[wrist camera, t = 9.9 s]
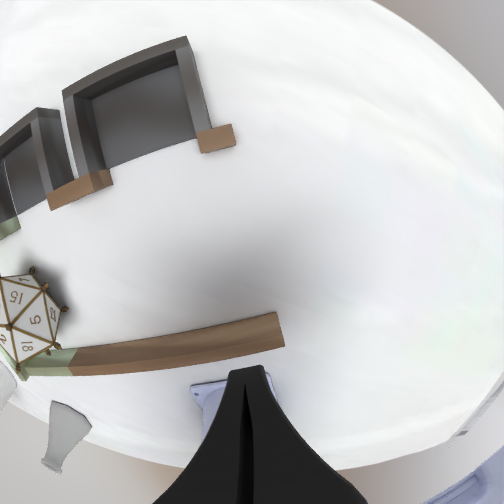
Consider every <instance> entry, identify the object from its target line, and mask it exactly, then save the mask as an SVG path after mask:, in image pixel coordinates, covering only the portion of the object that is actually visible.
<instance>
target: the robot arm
mask: <svg viewBox="0 0 504 504" xmlns="http://www.w3.org/2000/svg"><path fill="white" fill-rule="evenodd" d="M190 392H191V394H192V396H193V397H194V399H195V400H196V402H197V403H198V405H199V406H200V408H201V410H202V411H203V424H202V444H201V445H200V447H199V449H198V450H197V452H196V453H195V455H194V457H193V458H192V459H191V461H190V462H189V464H188V465H187V467H186V468H185V469H184V471H183V472H182V473H181V474H180V476H179V477H178V478H177V479H176V480H175V482H174V483H173V484H172V485H171V486H170V487H169V488H168V490H166V491H165V492H164V493H163V494H162V495H161V496H160V497H159V498H158V499H157V500H156V501H155V502H154V503H153V504H368V503H367V501H366V500H365V498H364V497H363V496H362V495H361V494H360V493H359V491H358V490H357V489H356V488H355V487H354V486H353V485H352V484H351V483H350V482H349V481H347V480H346V479H345V478H343V477H342V476H341V475H340V474H338V473H337V472H336V471H335V470H334V469H333V468H331V467H330V466H329V465H328V464H327V463H326V462H325V461H324V460H323V459H322V458H321V457H320V456H319V455H318V454H317V453H316V452H315V451H314V450H313V449H312V448H311V447H310V446H309V445H308V444H307V443H306V442H305V440H304V439H303V438H302V437H301V436H300V434H299V433H298V432H297V431H296V429H295V428H294V427H293V425H292V424H291V423H290V421H289V420H288V418H287V417H286V415H285V414H284V412H283V411H282V409H281V408H280V406H279V404H278V401H277V398H276V395H275V392H274V389H273V386H272V382H271V379H270V376H269V374H266V373H265V370H264V367H263V366H262V365H256V366H252V367H247V368H242V369H237V370H231V371H230V372H229V375H228V379H227V381H222V382H216V383H210V384H203V385H196V386H191V387H190ZM421 504H504V446H502V447H501V448H500V449H499V450H498V451H497V452H496V453H494V454H493V455H492V456H491V457H489V458H488V459H487V460H486V461H484V462H483V463H482V464H481V465H480V466H478V467H477V468H476V469H475V470H474V471H473V472H472V473H470V474H469V475H467V476H466V477H465V478H463V479H462V480H460V481H459V482H457V483H456V484H454V485H453V486H451V487H449V488H448V489H446V490H444V491H443V492H441V493H439V494H438V495H436V496H434V497H432V498H431V499H429V500H427V501H425V502H424V503H421Z"/></svg>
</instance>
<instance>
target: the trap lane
mask: <svg viewBox="0 0 504 504" xmlns="http://www.w3.org/2000/svg"><path fill="white" fill-rule="evenodd" d="M62 96H63V103H64V109H65V115H66V121H67V126H68V132H69V137H70V141H71V146H72V150H73V155H74V159H75V163H76V167H77V171H78V174H79V178H77V179H75V180H74V178H73V174H72V170H71V166H70V162H69V158H68V154H67V150H66V145H65V140H64V136H63V130H62V125H61V119H60V113H59V110H54V109H47V108H39V107H36V108H35V109H34V110H32V111H31V112H30V113H28V114H27V115H26V116H24V117H23V118H22V119H20V120H19V121H18V122H17V123H15V124H14V125H13V126H12V127H11V128H9V129H8V130H7V131H6V132H5V133H4V134H2V135H1V136H0V240H2V239H3V238H5V237H7V236H8V235H10V234H12V233H13V232H15V231H17V230H19V229H20V225H19V222H18V219H17V216H16V212H15V209H14V205H15V208H16V211H17V215H19V214H21V213H22V212H24V211H26V210H27V209H29V208H31V207H33V206H34V205H36V204H38V203H40V202H41V201H43V200H45V199H47V201H48V204H49V207H50V210H51V211H52V210H55V209H57V208H59V207H62V206H64V205H66V204H69V203H71V202H73V201H76V200H78V199H80V198H82V197H85V196H87V195H89V194H91V193H94V192H96V191H99V190H101V189H103V188H106V187H108V186H111V185H113V182H112V179H111V175H110V172H109V169H110V168H112V167H114V166H117V165H119V164H122V163H124V162H127V161H129V160H132V159H135V158H137V157H140V156H143V155H145V154H148V153H151V152H154V151H156V150H159V149H162V148H165V147H168V146H171V145H174V144H178V143H181V142H184V141H187V140H191V139H194V138H197V140H198V144H199V148H200V151H201V153H209V152H212V151H216V150H220V149H224V148H227V147H231V146H235V145H236V140H235V137H234V133H233V129H232V125H231V124H228V125H224V126H220V127H216V128H212V126H211V122H210V118H209V114H208V110H207V106H206V102H205V98H204V94H203V91H202V87H201V83H200V79H199V75H198V71H197V67H196V63H195V59H194V55H193V51H192V49H191V46H190V44H189V41H188V39H187V36H183V37H179V38H176V39H173V40H170V41H167V42H164V43H161V44H158V45H155V46H152V47H150V48H147V49H144V50H142V51H139V52H137V53H134V54H132V55H129V56H127V57H125V58H122V59H120V60H118V61H116V62H114V63H111V64H109V65H107V66H105V67H103V68H101V69H99V70H97V71H95V72H93V73H91V74H89V75H88V76H86V77H84V78H82V79H80V80H79V81H77V82H75V83H73V84H72V85H70V86H68V87H67V88H65V89H63V90H62ZM3 160H4V162H5V167H6V172H7V177H8V181H9V185H10V189H11V193H12V197H13V201H14V205H13V202H12V198H11V194H10V190H9V186H8V182H7V177H6V173H5V168H4V163H3ZM284 346H285V343H284V339H283V335H282V331H281V327H280V324H279V320H278V316H277V313H276V312H273V313H269V314H265V315H261V316H257V317H253V318H248V319H244V320H240V321H235V322H231V323H226V324H222V325H217V326H212V327H207V328H203V329H198V330H192V331H187V332H182V333H177V334H171V335H165V336H160V337H154V338H148V339H141V340H135V341H128V342H122V343H114V344H107V345H99V346H91V347H82V348H73V349H63V350H51V351H50V352H51V356H49V355H47V354H46V352H43V353H41V354H39V355H37V356H35V357H33V358H31V359H29V360H27V361H25V362H23V363H21V364H20V367H21V368H20V370H21V371H20V372H19V373H18V374H17V372H16V367H15V366H16V362H15V361H14V360H13V359H12V358H11V357H10V356H9V355H8V353H7V352H6V351H5V350H4V349H3V348H2V347H1V346H0V351H1V352H2V354H3V355H4V357H5V358H6V360H7V361H8V363H9V364H10V366H11V367H12V368H13V370H14V371H15V372H16V374H17V375H18V376H19V378H20V379H21V380H22V381H27V379H28V377H29V376H91V375H110V374H124V373H135V372H145V371H154V370H163V369H170V368H178V367H185V366H191V365H197V364H204V363H209V362H215V361H220V360H226V359H231V358H236V357H241V356H246V355H250V354H255V353H259V352H264V351H268V350H272V349H276V348H280V347H284Z"/></svg>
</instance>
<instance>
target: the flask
mask: <svg viewBox="0 0 504 504" xmlns="http://www.w3.org/2000/svg"><path fill="white" fill-rule="evenodd" d="M91 428H92V427H91V425H90V424H89V423H88V421H87V420H86V418H85V417H84V416H83V415H81V414H79V413H78V412H76V411H74V410H73V409H71V408H69V407H68V406H66V405H62V404H59V403H56V402H53V401H52V402H51V406H50V416H49V441H48V448H47V452H46V455H45V458H44V459H42V460H41V463H42V464H43V465H44V466H45V467H47V468H48V469H50V470H52V471H54V472H56V473H59V474H61V473H62V470H61V466H62V463H63V461H64V459H65V458H66V456H67V455H68V453H69V452H70V451H71V450H72V449H73V448H74V447H75V446H76V445H77V444H78V443H79V442H80V441H81V440H82V439H83V438H84V437H85V436H86V435H87V434H88V433H89V431H90V430H91Z"/></svg>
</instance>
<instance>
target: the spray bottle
mask: <svg viewBox="0 0 504 504" xmlns="http://www.w3.org/2000/svg"><path fill="white" fill-rule="evenodd" d="M15 388H16V381H15V379H14V377H13V375H12V374H11V372H10V371H9V370H8V369H7V367H6V366H5V365H4V364H3V363H2V362H1V361H0V413H1V412H2V410H3V408H4V406H5V405H6V403H7V401H8V400H9V398H10V396H11V395H12V393H13V391H14V390H15Z"/></svg>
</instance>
